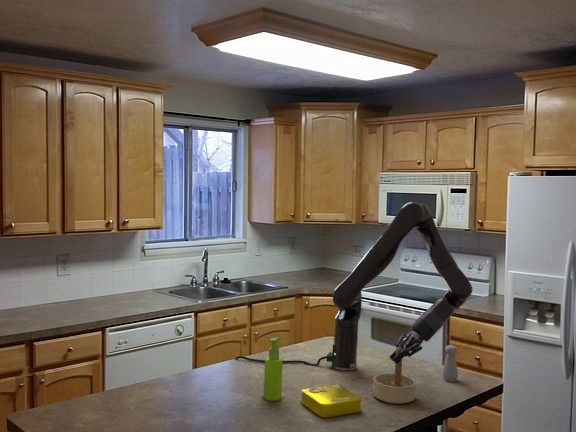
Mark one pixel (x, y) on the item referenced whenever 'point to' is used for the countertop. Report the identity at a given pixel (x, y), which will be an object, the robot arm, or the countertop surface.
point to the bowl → (393, 389)
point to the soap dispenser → (273, 373)
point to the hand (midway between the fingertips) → (393, 360)
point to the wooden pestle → (398, 372)
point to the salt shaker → (450, 364)
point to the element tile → (331, 401)
